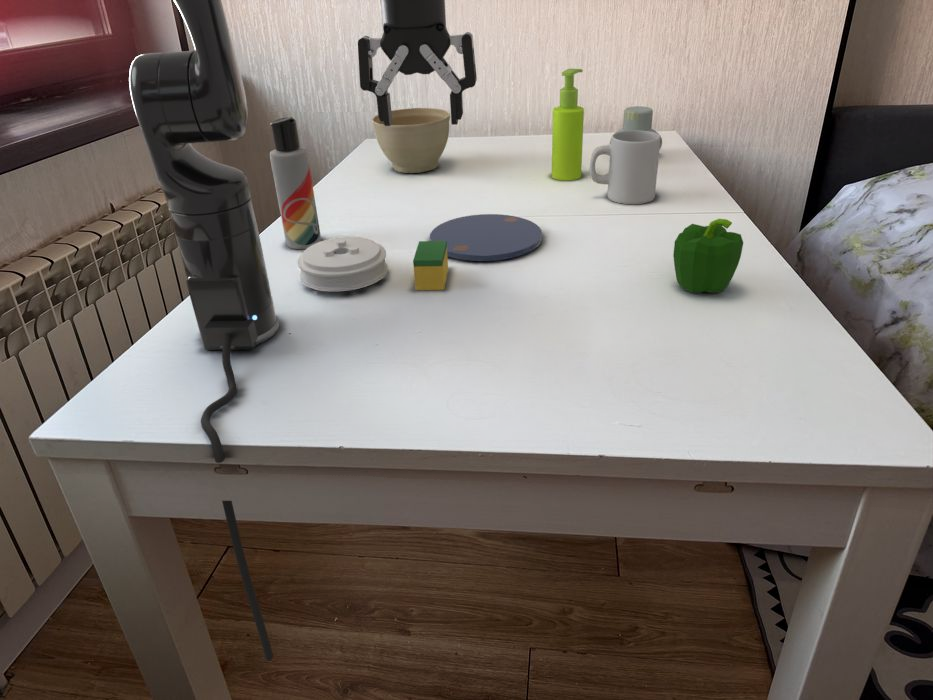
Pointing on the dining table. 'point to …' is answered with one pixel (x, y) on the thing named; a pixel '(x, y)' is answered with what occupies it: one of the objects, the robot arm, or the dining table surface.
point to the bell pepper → (707, 256)
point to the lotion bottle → (294, 186)
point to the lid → (342, 264)
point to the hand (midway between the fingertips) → (421, 124)
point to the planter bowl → (413, 138)
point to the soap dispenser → (567, 132)
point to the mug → (629, 166)
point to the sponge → (430, 265)
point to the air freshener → (638, 120)
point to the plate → (488, 237)
